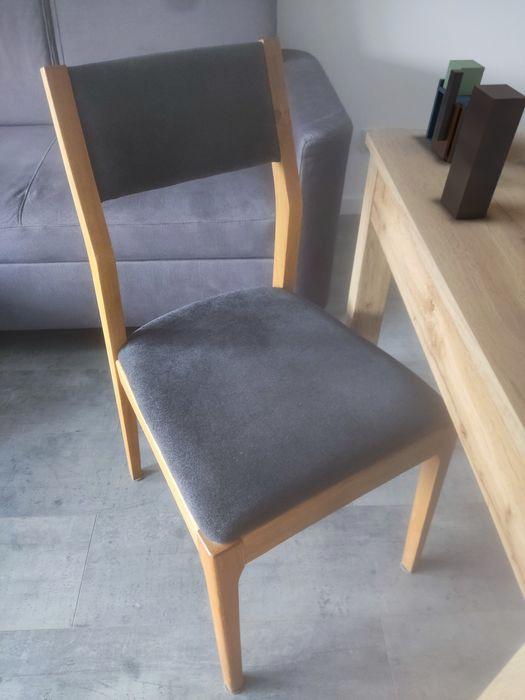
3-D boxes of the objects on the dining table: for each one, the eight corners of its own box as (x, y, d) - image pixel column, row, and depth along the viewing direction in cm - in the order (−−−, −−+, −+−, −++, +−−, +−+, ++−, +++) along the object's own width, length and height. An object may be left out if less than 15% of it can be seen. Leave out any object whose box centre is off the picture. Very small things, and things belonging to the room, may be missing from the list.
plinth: (467, 202, 76) (506, 83, 65) (484, 220, 73) (528, 97, 62) (439, 204, 75) (473, 84, 64) (454, 222, 72) (494, 98, 61)
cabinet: (450, 139, 93) (468, 78, 86) (477, 163, 86) (498, 99, 79) (417, 140, 92) (432, 78, 85) (442, 165, 85) (460, 100, 78)
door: (432, 146, 88) (454, 63, 79) (445, 159, 85) (469, 73, 76) (422, 147, 88) (442, 63, 79) (434, 160, 84) (457, 74, 76)
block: (465, 86, 86) (473, 59, 83) (477, 95, 83) (485, 67, 80) (442, 87, 85) (449, 59, 83) (453, 95, 82) (461, 67, 80)
